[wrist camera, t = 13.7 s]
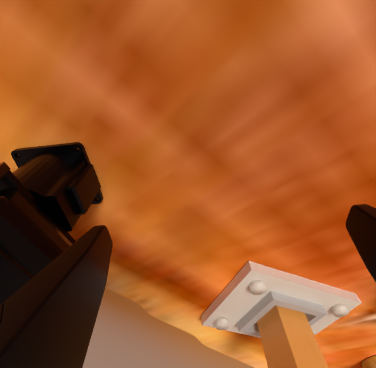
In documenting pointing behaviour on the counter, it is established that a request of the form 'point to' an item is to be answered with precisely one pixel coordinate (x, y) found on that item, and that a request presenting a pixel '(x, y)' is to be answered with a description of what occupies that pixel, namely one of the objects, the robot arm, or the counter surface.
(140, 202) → the counter surface
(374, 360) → the plant pot
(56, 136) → the counter surface
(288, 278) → the baseplate
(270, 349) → the column brick
